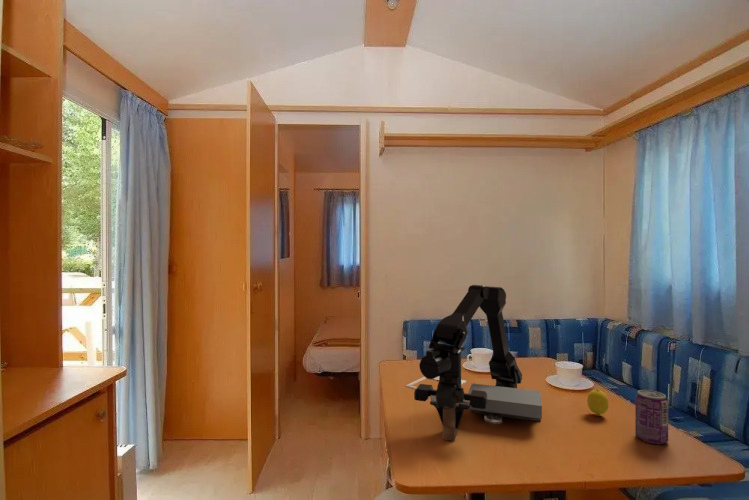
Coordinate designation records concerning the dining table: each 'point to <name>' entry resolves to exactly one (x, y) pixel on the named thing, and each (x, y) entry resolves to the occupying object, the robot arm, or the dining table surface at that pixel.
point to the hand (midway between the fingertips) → (450, 427)
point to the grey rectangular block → (510, 402)
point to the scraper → (449, 423)
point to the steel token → (493, 418)
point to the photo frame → (425, 378)
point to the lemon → (598, 402)
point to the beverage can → (651, 416)
